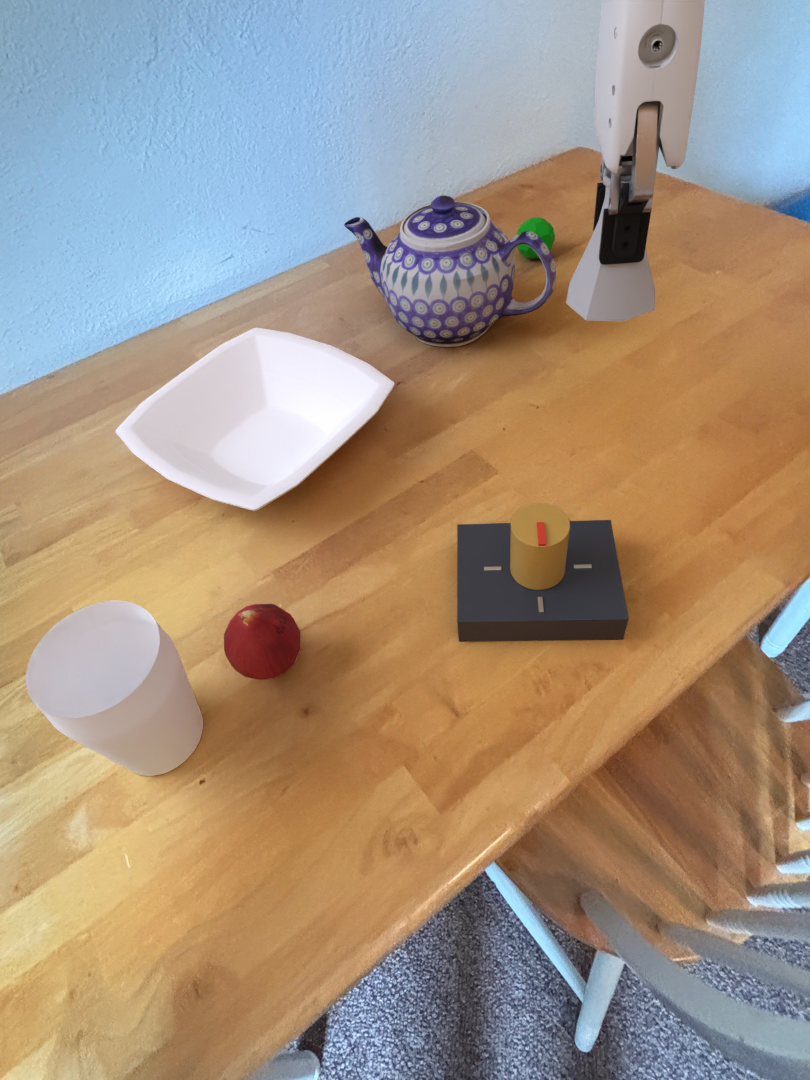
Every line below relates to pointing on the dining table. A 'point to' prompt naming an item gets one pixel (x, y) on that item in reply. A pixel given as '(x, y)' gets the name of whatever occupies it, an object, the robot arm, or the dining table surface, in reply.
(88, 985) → the dining table surface
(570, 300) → the flask
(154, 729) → the cup
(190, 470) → the bowl
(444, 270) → the teapot
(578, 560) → the panel
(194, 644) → the dining table surface
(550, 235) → the polyhedron
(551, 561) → the yellow dial knob
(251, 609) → the onion
